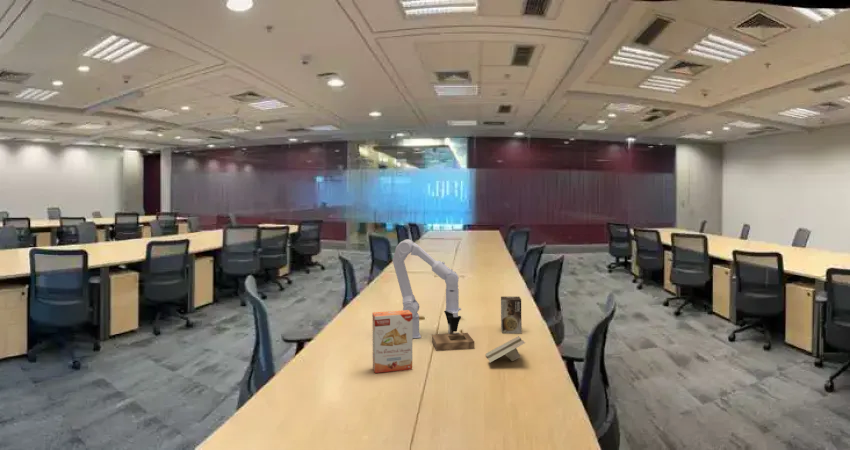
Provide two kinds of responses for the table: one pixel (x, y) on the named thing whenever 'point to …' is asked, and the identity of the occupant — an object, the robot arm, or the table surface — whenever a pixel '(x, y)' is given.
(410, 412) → the table surface
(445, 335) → the well block
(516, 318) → the coffee box
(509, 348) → the grey slanted stand
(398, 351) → the cracker box
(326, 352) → the table surface
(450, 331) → the grey block
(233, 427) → the table surface
